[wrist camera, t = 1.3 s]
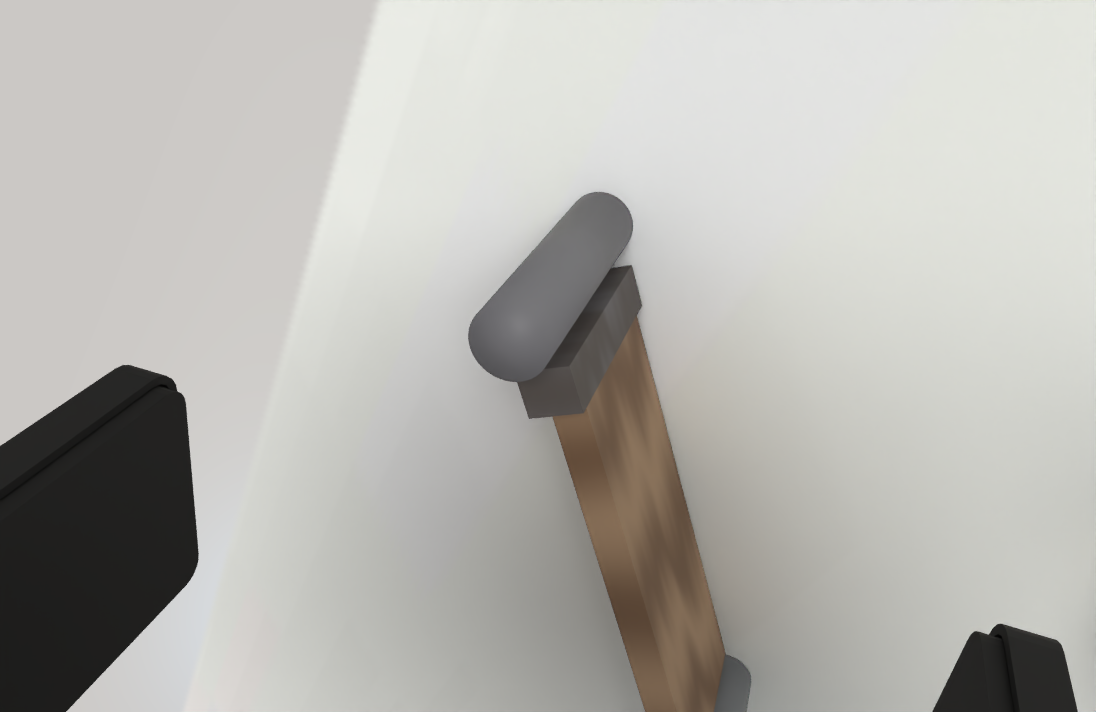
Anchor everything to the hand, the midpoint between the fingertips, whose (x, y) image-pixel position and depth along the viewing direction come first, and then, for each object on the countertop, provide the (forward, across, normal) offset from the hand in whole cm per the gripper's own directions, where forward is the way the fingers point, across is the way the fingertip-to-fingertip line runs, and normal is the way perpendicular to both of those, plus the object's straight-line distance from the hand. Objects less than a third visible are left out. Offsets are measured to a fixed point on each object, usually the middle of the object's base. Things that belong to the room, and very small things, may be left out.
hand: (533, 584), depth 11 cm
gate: (+23, 0, +15) cm, 28 cm away
